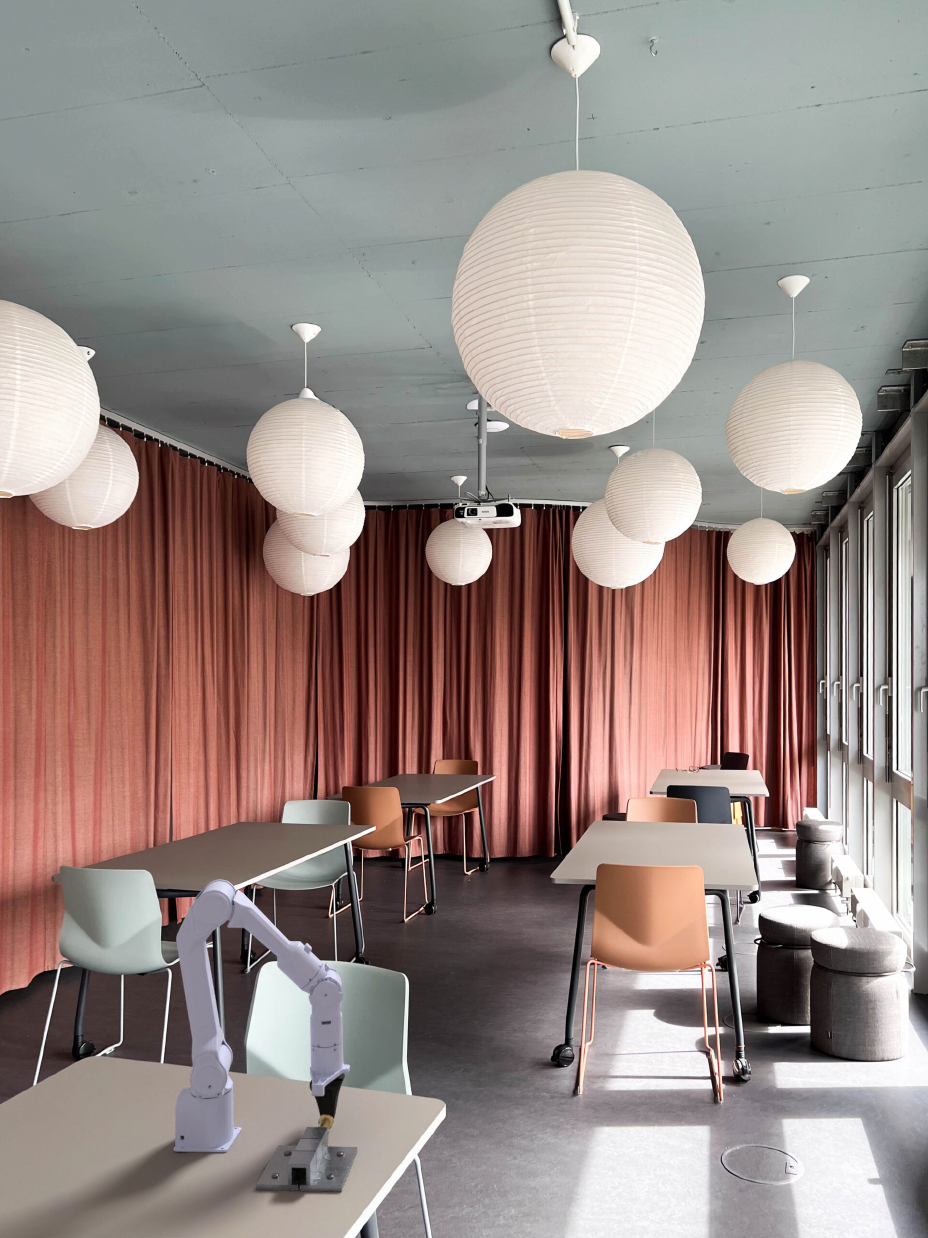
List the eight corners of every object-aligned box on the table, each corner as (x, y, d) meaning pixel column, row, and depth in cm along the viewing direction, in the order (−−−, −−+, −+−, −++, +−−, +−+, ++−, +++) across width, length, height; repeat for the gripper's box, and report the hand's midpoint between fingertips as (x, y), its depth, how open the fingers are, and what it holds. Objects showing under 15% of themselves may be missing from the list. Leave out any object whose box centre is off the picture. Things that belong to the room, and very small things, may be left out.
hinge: (256, 1189, 145) (256, 1163, 145) (278, 1150, 156) (278, 1126, 157) (341, 1191, 143) (341, 1165, 144) (357, 1152, 155) (356, 1127, 156)
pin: (298, 1169, 149) (298, 1153, 149) (319, 1128, 162) (319, 1113, 163) (314, 1170, 149) (314, 1153, 149) (333, 1128, 162) (333, 1113, 162)
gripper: (339, 1058, 157) (341, 1141, 156) (356, 1026, 171) (358, 1101, 170) (299, 1058, 157) (300, 1140, 157) (319, 1026, 172) (320, 1101, 171)
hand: (328, 1120), depth 164 cm, fingers closed
